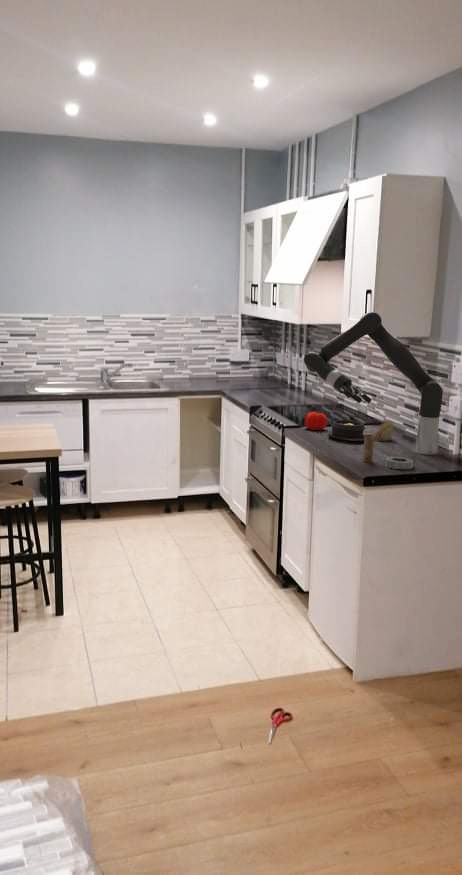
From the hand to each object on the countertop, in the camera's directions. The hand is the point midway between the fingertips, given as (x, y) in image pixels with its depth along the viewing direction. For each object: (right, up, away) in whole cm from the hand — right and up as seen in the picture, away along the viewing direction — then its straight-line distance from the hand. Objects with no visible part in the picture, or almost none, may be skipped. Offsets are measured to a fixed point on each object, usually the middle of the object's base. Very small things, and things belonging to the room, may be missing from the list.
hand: (365, 401), depth 325 cm
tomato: (-14, -12, +67) cm, 69 cm away
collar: (+13, -28, -8) cm, 32 cm away
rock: (+17, -17, +48) cm, 53 cm away
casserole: (-1, -17, +46) cm, 49 cm away
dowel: (+1, -26, 0) cm, 26 cm away
